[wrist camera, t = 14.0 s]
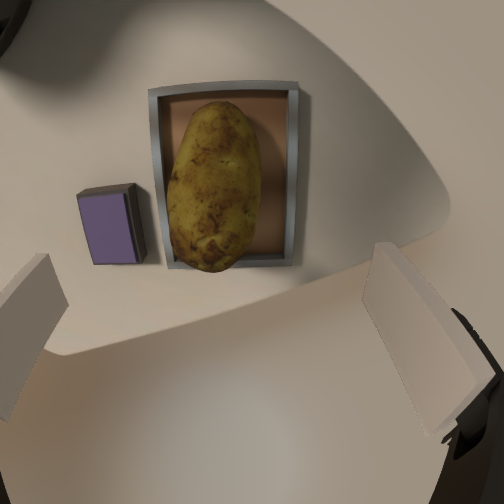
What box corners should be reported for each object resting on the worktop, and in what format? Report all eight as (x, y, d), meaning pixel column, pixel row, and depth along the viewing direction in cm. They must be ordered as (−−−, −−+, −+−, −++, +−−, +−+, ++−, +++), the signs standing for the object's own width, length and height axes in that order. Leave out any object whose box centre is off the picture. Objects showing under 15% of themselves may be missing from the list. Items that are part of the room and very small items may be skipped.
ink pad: (85, 189, 25) (74, 196, 23) (134, 182, 25) (126, 189, 23) (100, 255, 29) (92, 266, 26) (147, 254, 29) (140, 266, 27)
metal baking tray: (154, 90, 21) (148, 89, 19) (294, 83, 21) (298, 81, 20) (171, 260, 29) (168, 269, 28) (289, 257, 30) (291, 265, 28)
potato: (293, 131, 23) (317, 140, 16) (235, 249, 28) (234, 298, 21) (206, 94, 21) (191, 85, 14) (158, 219, 26) (131, 261, 19)
